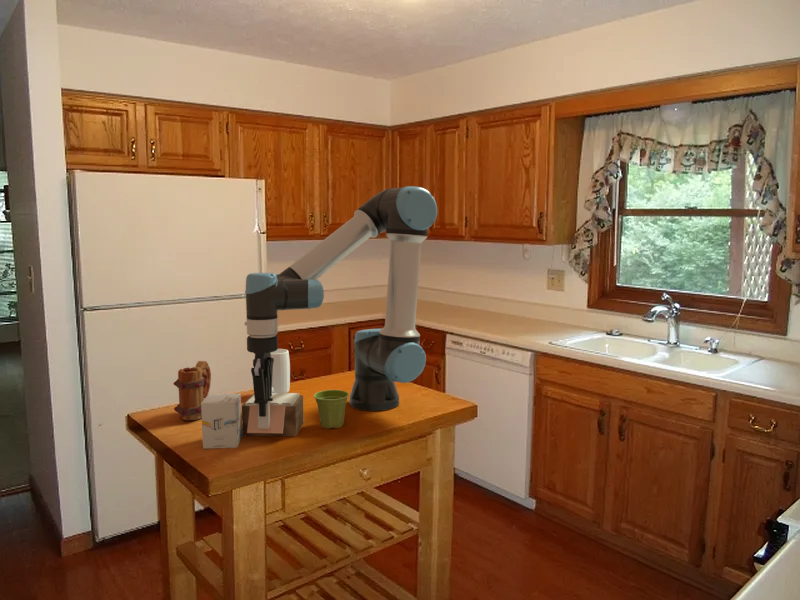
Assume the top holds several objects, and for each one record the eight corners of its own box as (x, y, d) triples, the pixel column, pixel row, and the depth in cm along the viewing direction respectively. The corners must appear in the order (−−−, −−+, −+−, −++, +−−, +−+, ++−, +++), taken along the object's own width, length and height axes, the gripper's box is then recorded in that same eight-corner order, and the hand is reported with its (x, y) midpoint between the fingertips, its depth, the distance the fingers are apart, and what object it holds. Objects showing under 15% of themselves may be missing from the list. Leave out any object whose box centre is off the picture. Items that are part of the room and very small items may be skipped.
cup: (287, 398, 193) (286, 354, 192) (261, 398, 193) (259, 354, 192) (292, 390, 202) (291, 348, 200) (267, 390, 202) (265, 348, 200)
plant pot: (335, 433, 162) (334, 401, 160) (307, 427, 167) (306, 395, 165) (356, 423, 169) (355, 392, 168) (329, 417, 174) (328, 387, 173)
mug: (196, 424, 169) (194, 371, 167) (169, 422, 170) (166, 369, 168) (222, 408, 183) (220, 359, 181) (197, 407, 184) (194, 358, 182)
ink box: (209, 437, 159) (207, 393, 158) (243, 436, 160) (241, 392, 158) (201, 449, 151) (199, 402, 149) (237, 448, 151) (235, 402, 150)
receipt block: (303, 423, 169) (302, 392, 168) (296, 436, 159) (295, 403, 158) (253, 423, 170) (252, 392, 169) (242, 435, 160) (241, 403, 159)
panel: (285, 406, 158) (284, 405, 157) (282, 433, 155) (282, 433, 155) (250, 405, 158) (250, 405, 158) (247, 433, 156) (247, 432, 155)
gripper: (254, 330, 159) (256, 419, 162) (239, 339, 146) (241, 435, 149) (283, 331, 159) (284, 420, 161) (270, 339, 146) (272, 436, 149)
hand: (264, 427), depth 155 cm, fingers closed
